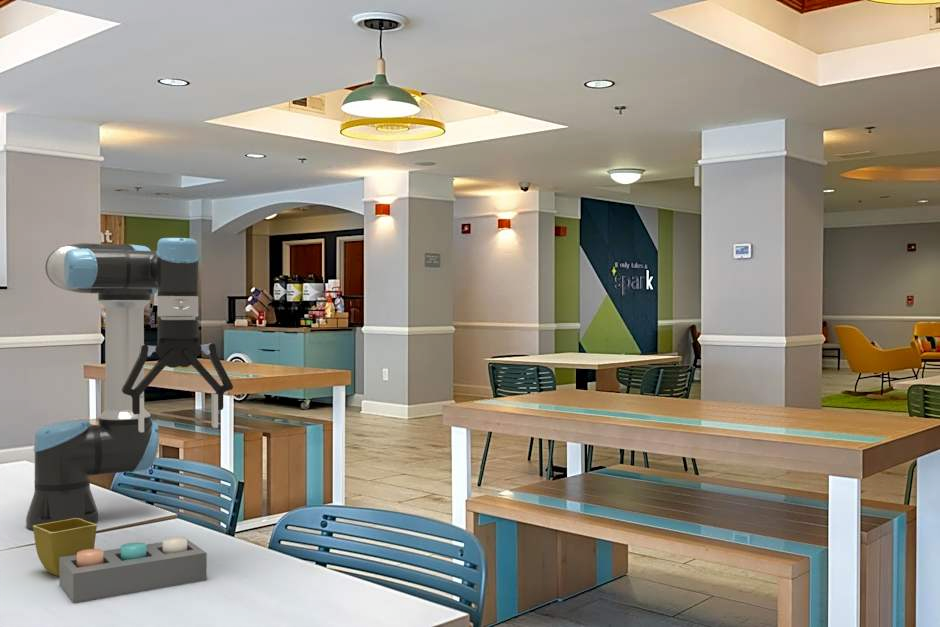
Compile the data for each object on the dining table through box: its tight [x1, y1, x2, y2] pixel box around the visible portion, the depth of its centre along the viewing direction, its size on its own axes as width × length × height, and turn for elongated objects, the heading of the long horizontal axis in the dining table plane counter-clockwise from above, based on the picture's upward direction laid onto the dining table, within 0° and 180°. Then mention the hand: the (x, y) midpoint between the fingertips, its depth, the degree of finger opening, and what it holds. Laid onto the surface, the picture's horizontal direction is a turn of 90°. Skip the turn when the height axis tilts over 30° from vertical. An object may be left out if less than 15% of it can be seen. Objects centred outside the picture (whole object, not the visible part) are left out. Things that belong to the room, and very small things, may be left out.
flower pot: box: [32, 518, 98, 577], centre depth 173 cm, size 9×9×9 cm
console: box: [58, 538, 208, 604], centre depth 166 cm, size 12×23×5 cm, turn 125°
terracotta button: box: [77, 548, 104, 568], centre depth 162 cm, size 4×4×3 cm
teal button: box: [120, 542, 147, 561], centre depth 166 cm, size 4×4×3 cm
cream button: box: [162, 536, 188, 554], centre depth 170 cm, size 4×4×3 cm
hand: (178, 429), depth 175 cm, fingers open, 13 cm apart
